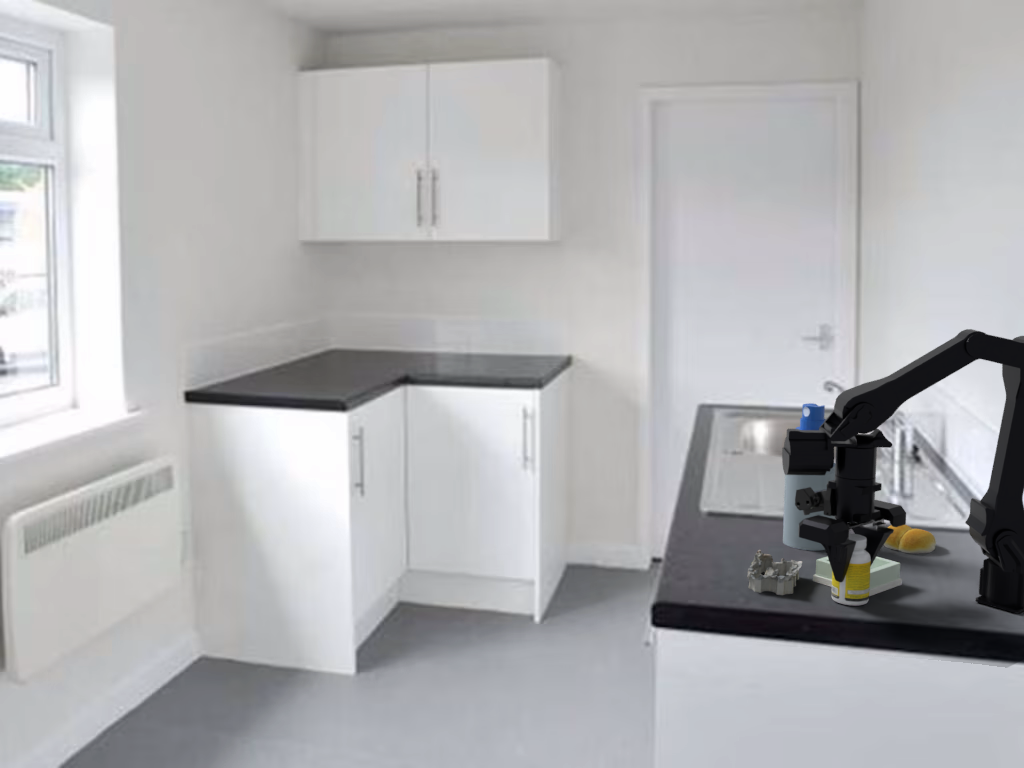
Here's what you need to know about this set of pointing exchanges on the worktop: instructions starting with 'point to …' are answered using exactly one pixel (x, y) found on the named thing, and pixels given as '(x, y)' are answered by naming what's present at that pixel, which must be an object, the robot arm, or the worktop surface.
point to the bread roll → (910, 540)
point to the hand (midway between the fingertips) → (850, 577)
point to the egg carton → (773, 574)
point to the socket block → (881, 574)
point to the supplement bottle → (854, 576)
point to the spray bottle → (804, 486)
